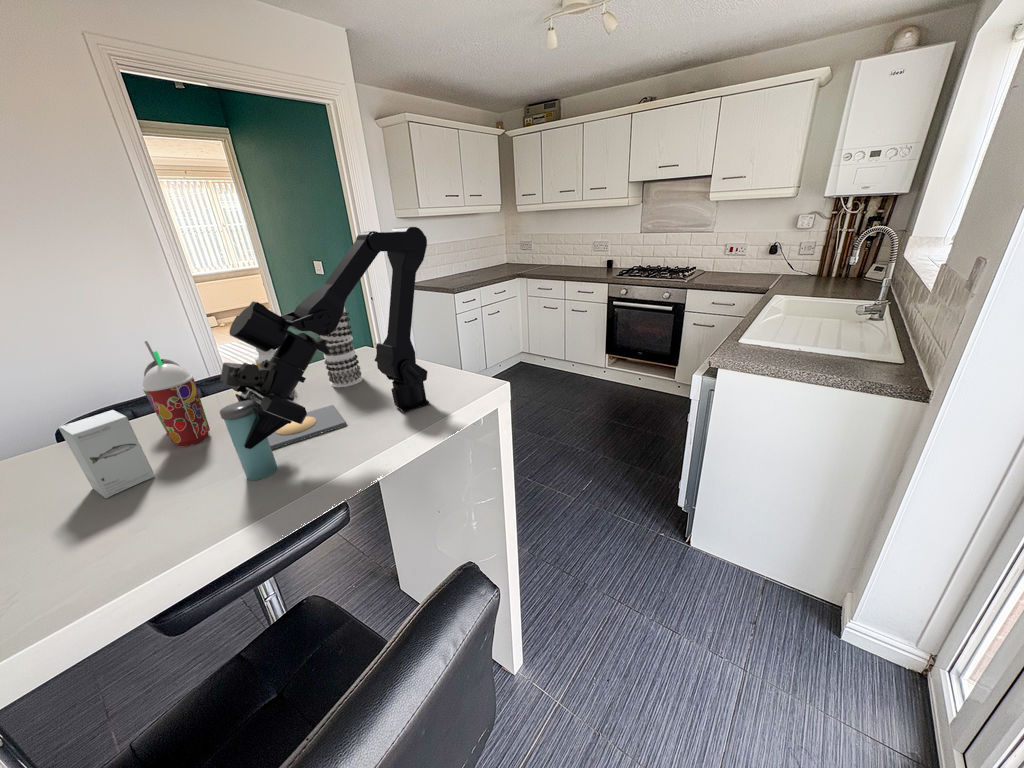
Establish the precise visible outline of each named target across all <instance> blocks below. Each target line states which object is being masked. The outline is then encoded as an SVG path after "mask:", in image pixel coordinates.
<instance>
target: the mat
mask: <svg viewBox="0 0 1024 768" xmlns="http://www.w3.org/2000/svg"><path fill="white" fill-rule="evenodd" d="M306 412H307V415H306V417H305V419H304V421H303V423H302V424H299V423H296V422H294V421H292V422H291V423H290V424H289V423H288V424H286V425H285V426H283V427H282V428H280V429H279V430H277V431H276V432H274V433H273V434H271V435H270V436H268V437H267V438H268V441H269V444H270V447H271V449H272V450H275V449H278V448H280V446H281V447H284V446H286V445H285V444H287V445H289V444H288V443H290V444H292V443H291V442H293V443H296V442H299V441H298V440H300V441H302V440H301V439H303V440H305V439H304V438H306V439H308V437H309V438H311V437H310V436H312V437H314V436H313V435H315V436H317V435H316V434H318V435H320V434H319V433H321V432H324V433H326V432H325V431H328V430H331V429H334V430H336V429H335V428H337V429H339V427H340V428H343V427H346V426H348V424H347V421H346V420H345V418H344V417H343V416H342V414H341V413H340V412H339V410H338V409H337V407H336V406H335V405H334V404H330V405H326V406H324V407H320V408H317V409H314V410H310V411H306ZM345 425H346V426H345ZM342 426H343V427H342ZM331 431H332V430H331ZM328 432H329V431H328ZM321 434H322V433H321ZM295 441H296V442H295ZM283 445H284V446H283ZM277 447H278V448H277ZM274 448H275V449H274Z"/></svg>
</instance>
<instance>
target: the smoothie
mask: <svg viewBox="0 0 1024 768" xmlns="http://www.w3.org/2000/svg"><path fill="white" fill-rule="evenodd" d="M153 353H154V355H155V358H156V360H157V362H158V365H157V366H155V367H153V368H151V369H150V370H149V371H148V372H147V373H146V375H145V377H144V376H143V380H142V386H141V390H142V391H143V393H144V395H145V396H146V398H147V400H148V402H149V403H150V405H151V407H152V409H153V411H154V412H155V414H156V416H157V417H158V419H159V421H160V424H161V425H162V426H163V429H164V430H165V432H166V434H167V435H168V438H169V439H170V440H171V442H172V443H175V444H176V446H177V447H183V448H184V447H185V448H186V447H190V446H194V445H197V444H200V443H201V442H204V441H205V440H207V439H208V438H209V435H210V434H209V432H210V431H211V429H210V425H209V422H208V419H207V416H206V412H205V409H204V406H203V404H202V400H201V397H200V394H199V391H198V388H197V385H196V381H195V379H194V375H193V374H192V373H190V372H188V370H186V369H185V368H184V367H183V366H181V365H180V366H178V365H179V364H178V365H175V364H162V361H161V359H162V358H161V357H160V355H159V352H158V350H155V351H154V350H153Z"/></svg>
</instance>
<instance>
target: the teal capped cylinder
mask: <svg viewBox="0 0 1024 768" xmlns="http://www.w3.org/2000/svg"><path fill="white" fill-rule="evenodd" d="M253 405H254V406H256V407H258V406H257V403H256V401H253V400H247V401H241V402H239V401H236V402H234V403H230V404H228V405H226V406H224V407H222V408H221V409H220V410H219V415H220V418H221V419H222V420H224V423H225V426H226V428H227V431H228V434H229V436H230V438H231V441H232V444H233V447H234V449H235V452H236V455H237V456H238V459H239V462H240V465H241V467H242V470H243V472H244V476H245V477H246V479H247V480H248V481H256V480H257V481H258V480H262V479H266V478H267V477H269V476H271V475H273V474H274V473H276V472H277V470H278V464H277V460H276V459H275V455H274V453H273V449H271V447H270V444H269V441H268V438H266V439H264V440H263V441H261V442H260V443H259V444H257V445H256V446H254V447H253V448H252V449H247V448H245V447H244V445H245V442H246V439H247V437H248V435H249V432H250V430H251V428H252V425H253V423H254V421H255V418H256V415H255V412H254V409H253Z"/></svg>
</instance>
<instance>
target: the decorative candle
mask: <svg viewBox="0 0 1024 768" xmlns="http://www.w3.org/2000/svg"><path fill="white" fill-rule="evenodd" d="M349 315H350V313H349V312H348V311H346V305H345V306H344V313H343V315H342V317H341V319H340V322H339V324H338V326H337V328H336V329H335V330H334V331H333V332H332V333H331V334H327V335H318V337H317V339H319V338H321V339H324V340H326V345H327V347H328V350H329V354H324V353H323V357H324V364H325V365H326V366H325V369H326V370H327V376H328V381H329V382H330V386H331V387H333V388H346V387H350V386H355V385H357V384H359V383H360V382H362V380H363V377H362V371H361V365H358V364H359V360H358V355H357V353H356V350H355V348H354V347H355V346H354V344H353V340H354V337H353V336H352V334H353V331H352V330H351V329H352V325H350V324H348V322H350V320H351V318H350V317H348V316H349Z"/></svg>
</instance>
